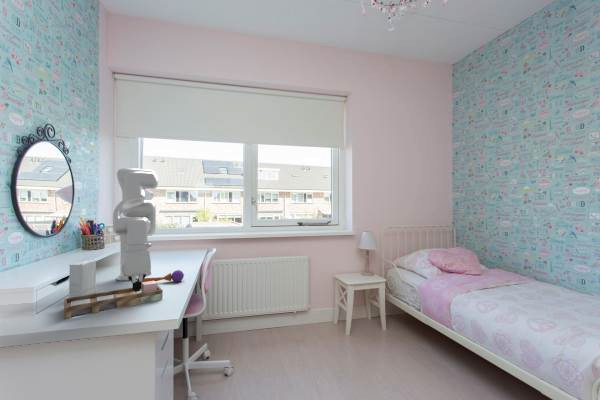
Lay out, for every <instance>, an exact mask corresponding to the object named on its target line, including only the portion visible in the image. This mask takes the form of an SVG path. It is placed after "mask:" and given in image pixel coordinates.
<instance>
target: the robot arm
mask: <svg viewBox="0 0 600 400" xmlns="http://www.w3.org/2000/svg"><path fill="white" fill-rule="evenodd" d="M116 178H117V182H118V184H119V186H120V189H121V193H122V199H121V201H120V202H119V203H118V204H117V205H116V206H115V208H114V210H113V213H112V214H113V215H112V230H113V233H114V234H116V235H119V239H120V240H119V241H120V245H119V246H120V256H119V257H120V261H119V263H120V265H119V267H120V268H119V269H120V270H119V275H117V276H116V280H117V281H123V282H124V281H130V282H132V289H133V290H134V291H135V292H137V291H138V292H139V291H140V289H141V282H142V280H143V279H144V278H147V277H149V276H151V275H152V261H151V254H150V250H149V248H151V247H152V244H151V243H148V237H152V236H154V235H155V233H156V228H157V227H156V226H157V225H156V223H157V222H156V221H157V220H156V218H157V214H156V213H157V209H156V203H155V202H154V201H153V200H148V199H146V190H156V189H157V188H158V186H159V185H158V183H159V179H158V178H159V177H158V175H157V173H156V172H155V171H154V170H153V169H144V168H143V169H142V168H128V167H127V168H126V167H125V168H120V169H117V172H116ZM121 214H122V215H123V216H124V217H121Z"/></svg>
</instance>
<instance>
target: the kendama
mask: <svg viewBox="0 0 600 400" xmlns="http://www.w3.org/2000/svg"><path fill="white" fill-rule="evenodd" d="M184 275H185V274H184V273H183V271H182V270H180V269H178V270H175V271H173V272H172V273H171V272H170V273H168V274H166V275H165V276H162V277H145V278H144V279H143V280H142V282H148V281H155V282H159V281H161V280H164V281H168V282H172V281H173V282H175V283H179V282H182V280H183V279H184V277H185V276H184ZM142 282H141V285H142Z"/></svg>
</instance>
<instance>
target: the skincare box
mask: <svg viewBox="0 0 600 400" xmlns="http://www.w3.org/2000/svg"><path fill="white" fill-rule="evenodd" d="M68 274H69V277H68V279H69V280H68V283H69V284H68V286H69V288H68V289H69V290H68V298H71V297H77V296H83V295H89V294H95V293H97V292H96V286H97V285H96V284H97V283H96V282H97V260H90V259H89V260H87V259H83V260H80V261H78V262H74V263H70V264H69V273H68Z"/></svg>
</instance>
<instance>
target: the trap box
mask: <svg viewBox="0 0 600 400" xmlns="http://www.w3.org/2000/svg"><path fill="white" fill-rule="evenodd" d="M132 287H133V286H132ZM132 287H126V288H121V289H120V288H119V289H114V290H109V291H102V292H95V293H92V294H89V295H83V296H77V297H71V298H69V297H66V298H64V299H63V300H64V301H63V320H66V319H67V320H68V319H71V318H73V317H79V316H83V315H88V314H96V313H100V312H103V311H108V310H112V309H120V308H127V307H131V306H135V305H141V304H147V303H150V302H156V301H161V300H163V289H162V288H161V286H159V284H157V290H156V291H151V292H145V293H142V292H141V289H140V291H139V292H138V291H137V292H135V291H134V290H133V289H132ZM108 296H113V298H107V299H103V300H101V299H100V300H98V298H101V297H108ZM83 300H89V301H90V302H86V303H80V304H74V305H72V302H78V301H83Z"/></svg>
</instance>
